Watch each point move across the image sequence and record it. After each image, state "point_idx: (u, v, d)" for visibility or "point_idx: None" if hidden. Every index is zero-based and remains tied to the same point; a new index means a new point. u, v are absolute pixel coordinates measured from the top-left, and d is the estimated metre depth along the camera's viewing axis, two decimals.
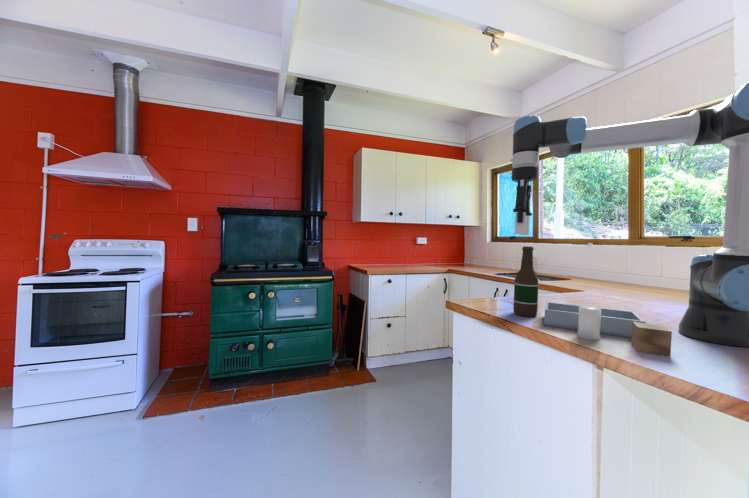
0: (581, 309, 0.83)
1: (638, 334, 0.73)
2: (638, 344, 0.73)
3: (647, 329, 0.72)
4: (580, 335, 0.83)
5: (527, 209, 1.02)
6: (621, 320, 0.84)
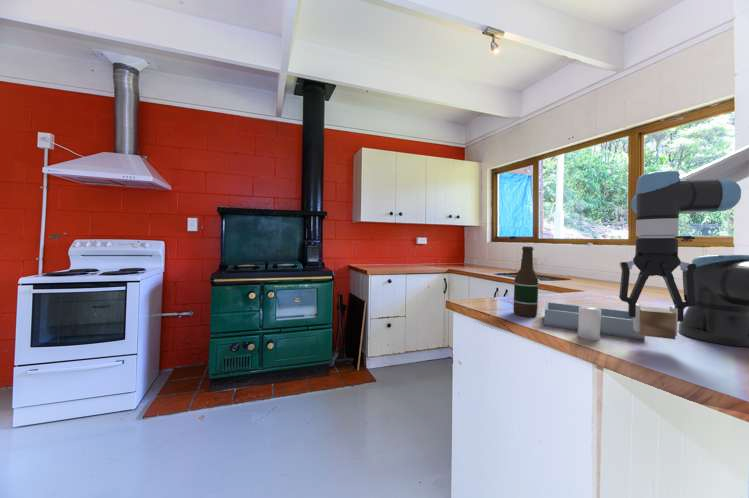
0: (581, 309, 0.83)
1: (642, 317, 0.73)
2: (642, 327, 0.73)
3: (651, 312, 0.72)
4: (580, 335, 0.83)
5: (673, 296, 0.71)
6: (621, 320, 0.84)
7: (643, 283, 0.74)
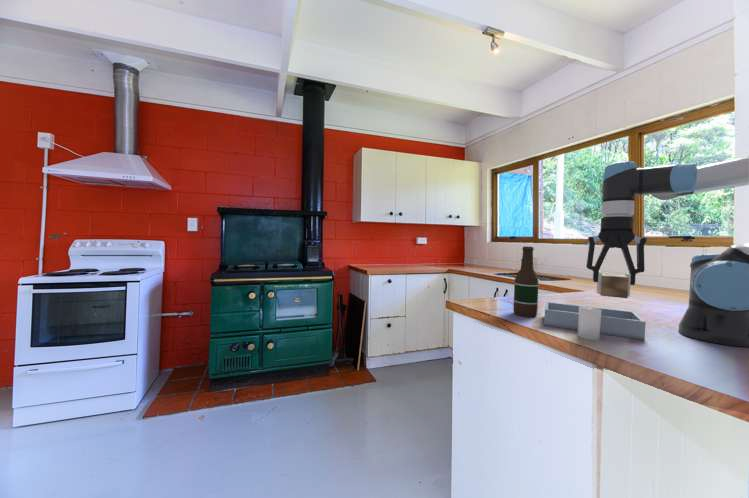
0: (581, 309, 0.83)
1: (602, 281, 0.89)
2: (602, 289, 0.89)
3: (609, 276, 0.88)
4: (580, 335, 0.83)
5: (627, 264, 0.88)
6: (621, 320, 0.84)
7: (605, 254, 0.90)
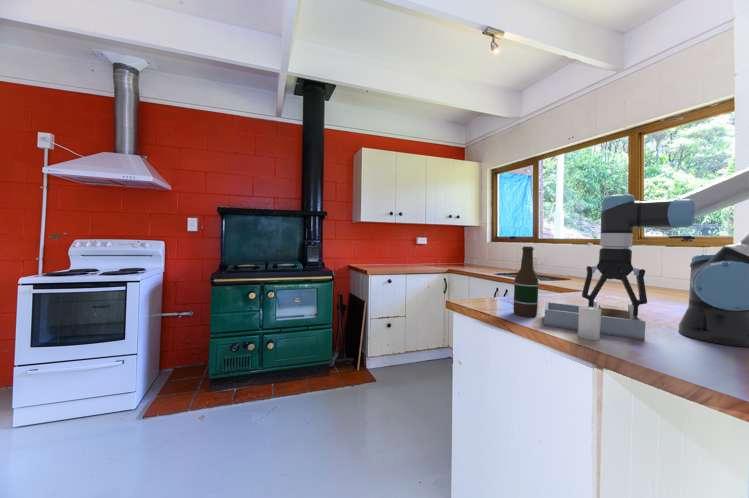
0: (581, 309, 0.83)
1: (601, 313, 0.89)
2: None
3: (608, 309, 0.88)
4: (580, 335, 0.83)
5: (629, 296, 0.88)
6: (621, 320, 0.84)
7: (602, 284, 0.91)
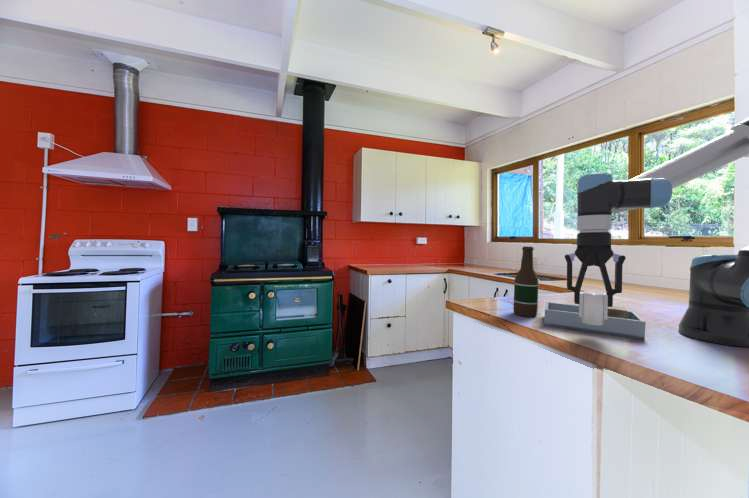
0: (584, 295, 0.82)
1: None
2: None
3: (608, 309, 0.88)
4: (584, 321, 0.83)
5: (604, 284, 0.81)
6: (621, 320, 0.84)
7: (584, 273, 0.83)
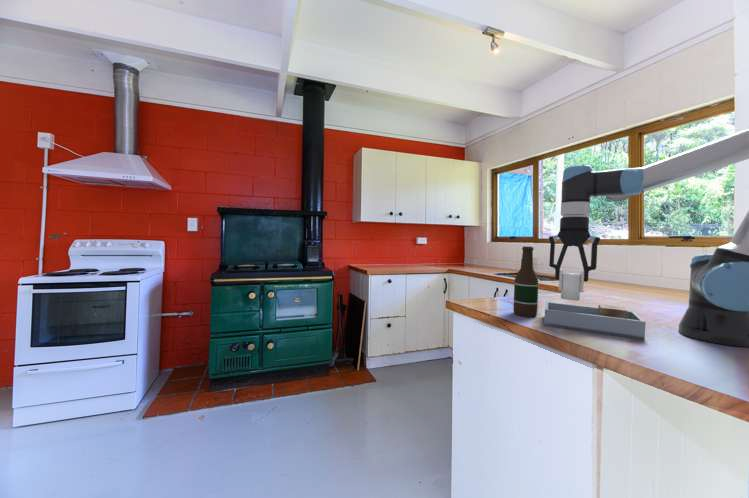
0: (564, 274, 0.95)
1: (601, 313, 0.89)
2: None
3: (608, 309, 0.88)
4: (563, 297, 0.95)
5: (582, 262, 0.93)
6: (621, 320, 0.84)
7: (564, 252, 0.95)
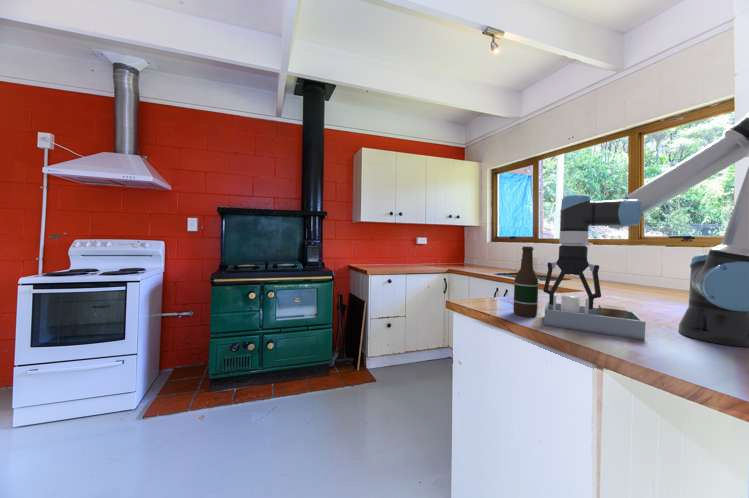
0: (563, 297, 0.95)
1: (601, 313, 0.89)
2: None
3: (608, 309, 0.88)
4: None
5: None
6: (621, 320, 0.84)
7: (560, 279, 0.96)
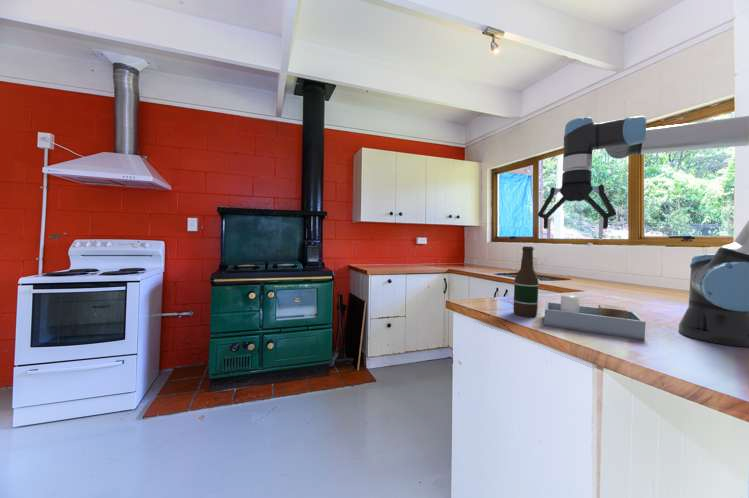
0: (562, 297, 0.96)
1: (601, 313, 0.89)
2: None
3: (608, 309, 0.88)
4: None
5: (598, 211, 0.91)
6: (621, 320, 0.84)
7: (559, 204, 0.96)
